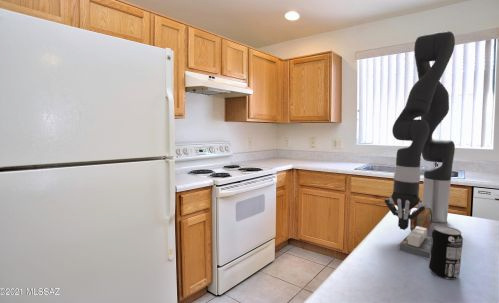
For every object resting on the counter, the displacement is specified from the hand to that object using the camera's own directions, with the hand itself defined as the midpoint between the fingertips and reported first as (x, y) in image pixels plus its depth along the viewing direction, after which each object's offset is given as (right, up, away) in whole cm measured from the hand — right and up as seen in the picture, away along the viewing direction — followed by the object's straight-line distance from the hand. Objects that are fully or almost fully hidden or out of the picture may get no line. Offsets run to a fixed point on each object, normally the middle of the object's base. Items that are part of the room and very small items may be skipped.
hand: (402, 228), depth 94 cm
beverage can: (-1, -6, -22) cm, 23 cm away
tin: (+11, -3, +8) cm, 14 cm away
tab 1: (+4, -2, -4) cm, 5 cm away
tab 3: (-2, -2, -9) cm, 10 cm away
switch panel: (+3, -4, -8) cm, 9 cm away
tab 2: (+1, -2, -6) cm, 7 cm away
